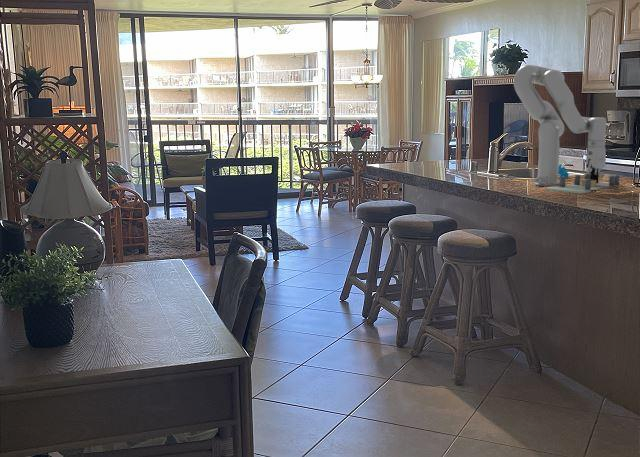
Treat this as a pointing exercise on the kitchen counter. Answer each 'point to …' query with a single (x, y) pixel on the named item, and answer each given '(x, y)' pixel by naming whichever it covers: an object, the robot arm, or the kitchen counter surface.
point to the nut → (593, 182)
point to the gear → (562, 171)
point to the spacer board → (581, 189)
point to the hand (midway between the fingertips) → (594, 182)
